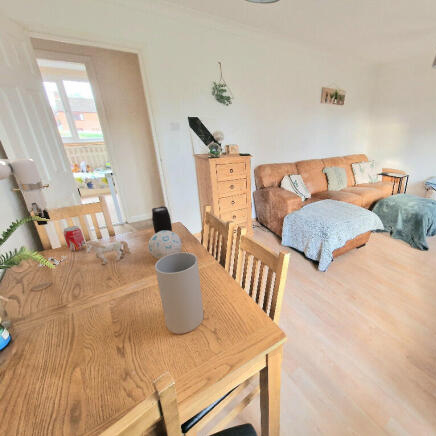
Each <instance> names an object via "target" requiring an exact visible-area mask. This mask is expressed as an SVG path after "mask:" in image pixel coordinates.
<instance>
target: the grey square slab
mask: <svg viewBox="0 0 436 436" xmlns="http://www.w3.org/2000/svg"><path fill="white" fill-rule="evenodd" d="M53 257H54V258H55V257H56V256H51V257H48V258H49V259H48V260H49V261H50V262H51V261H52V262H54V263H55V264H56V265H55V266H58V265H59V264H60V263H61V262H60V261H57V260H56V259H54V258H53ZM62 257H63V259H64V260H65V259H67V257H68V255H65V256H64V255H63V256H62ZM64 257H65V258H64ZM63 259H62V260H61V261H62V262H63V261H64V260H63ZM59 262H60V263H59ZM38 267H46V266H45V265H43V266H42V264H41V263H40V264H38V265H37V268H38Z"/></svg>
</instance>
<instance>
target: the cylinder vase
mask: <svg viewBox="0 0 436 436" xmlns="http://www.w3.org/2000/svg"><path fill="white" fill-rule="evenodd" d="M154 270H155V274H156V280H157V285H158V291H159V296H160V301H161V305H162V309H163V310H162V311H163V316H164V321H165V326H166V328H167V330H168V331H169V332H171V333H173V334H177V335H178V334H179V335H182V334H187V333H190V332H192V331H194V330H195V329H197V328H198V327H199V326H200V325H201V324H202V322H203V321H204V317H205V316H204V305H203V296H202V287H201V277H200V270H199V260H198V257H197V255H196V254H194V253H191V252H186V251H185V252H182V251H180V252H179V253H173V254H170V255H167V256H165V257H163V258H161V259H160V260H159V259H157V261H156V262H155V263H154Z"/></svg>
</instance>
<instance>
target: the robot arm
mask: <svg viewBox="0 0 436 436" xmlns="http://www.w3.org/2000/svg"><path fill="white" fill-rule="evenodd" d="M10 176H14V178H15V180H16V184H17V186H18V189H19V191H20V192H22V194H23V198H24V201H25V204H26V205H25V206H26V209H27V211H28V213H33V215H34V217H35V216H39V217H41V218H46V219H49V220H47V221H36V223H37V226H45V225H48V221H50V220H51V217H50V214H49V211H48V209H47V207H48V205H47V201H46V197H45V195H44V192H43V190H44V185H43V182H42V179H41V176H40V173H39V171H38V168H37V165H36V162H35V160H33V159H31V158H23V157H22V158H14V159H11V158H0V181H2V180H6V179H7V178H9V177H10Z"/></svg>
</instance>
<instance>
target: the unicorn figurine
mask: <svg viewBox="0 0 436 436" xmlns="http://www.w3.org/2000/svg"><path fill="white" fill-rule="evenodd" d="M82 245H84V246H83V247H79V248H83V249H85V251H86V253H87V254H90V253H92V251H91V250H93V252H94V253H95V254H94V257H95V258H96V260H98V261H99V262H102V263H101V265H106V263H108V264H109V262H108V258H106V257H105V256H104V254H107V253H108V254H109V253H111V252H113V251H114V252H116V253H117V256H116V257H115V259H116V260H115V261H116V262H119V261H120V259H123V257H125V256H129V255H131V254H132V252H131V250H130V248H129V244H128V243H127V241H125V240H120V241H111V242H109V243H108V242H107V243H102V242H100V241H97V240H91V239H90V240H87V241H85V244H82Z"/></svg>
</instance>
